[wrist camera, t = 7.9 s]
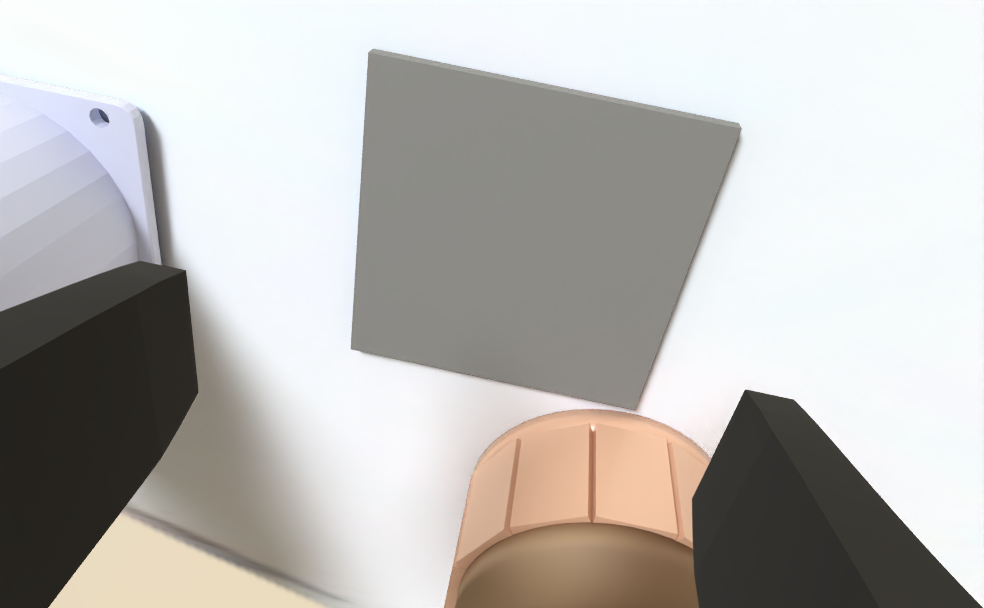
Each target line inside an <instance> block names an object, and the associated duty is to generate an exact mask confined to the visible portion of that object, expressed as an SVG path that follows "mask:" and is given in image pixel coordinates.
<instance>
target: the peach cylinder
mask: <svg viewBox="0 0 984 608" xmlns="http://www.w3.org/2000/svg"><path fill="white" fill-rule="evenodd" d="M710 461H711V458H710V457H709V456H708V455H707V454H706V452H705V451H703V450H702V449H701V448H700V447H699V446H698V445H697V444H696V443H695V442H693V441H692V440H690V439H689V438H687V437H686V436H685V435H683V434H682V433H680V432H678V431H676V430H674V429H672V428H671V427H669V426H667V425H665V424H662V423H660V422H657V421H654V420H652V419H649V418H646V417H642V416H638V415H635V414H631V413H625V412H619V411H613V410H600V409H581V410H569V411H562V412H555V413H551V414H547V415H543V416H539V417H537V418H534V419H531V420H529V421H526V422H524V423H522V424H520V425H518V426H516V427H514V428H512V429H510V430H509V431H507V432H506V433H504V434H503V435H501V436H500V437H499V438H497V439H496V440H495V441H494V442H493V443H492V444H491V445H490V446H489V447H488V448H487V449H486V450H485V452H484V453H483V454H482V456H481V457H480V459H479V461H478V462H477V464H476V466H475V468H474V471H473V474H472V477H471V481H470V486H469V491H468V496H467V500H466V505H465V510H464V514H463V519H462V524H461V529H460V533H459V538H458V543H457V548H456V553H455V557H454V562H453V567H452V572H451V576H450V581H449V586H448V591H447V595H446V600H445V605H444V608H455V605H456V599H457V594H458V589H459V586H460V583H461V579H462V577H463V575H464V574H465V572H466V570H467V568H468V567H469V566H470V565H471V563H472V562H473V561H474V560H475V559H476V558H477V557H478V556H479V555H480V554H481V553H483V552H484V551H485V550H486V549H488V548H489V547H491V546H492V545H494V544H496V543H497V542H499V541H501V540H503V539H505V538H507V537H510V536H512V535H514V534H517V533H520V532H523V531H526V530H529V529H533V528H538V527H543V526H547V525H554V524H563V523H583V522H592V523H608V524H616V525H623V526H629V527H634V528H638V529H642V530H646V531H650V532H654V533H657V534H660V535H662V536H665V537H668V538H671V539H673V540H675V541H678V542H680V543H682V544H684V545H686V546H689V547H690V548H692V549H693V536H692V497H693V495H694V493H695V491H696V489H697V487H698V485H699V483H700V481H701V479H702V477H703V475H704V473H705V471H706V469H707V467H708V465H709V463H710Z"/></svg>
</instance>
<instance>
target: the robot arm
mask: <svg viewBox="0 0 984 608" xmlns="http://www.w3.org/2000/svg"><path fill="white" fill-rule="evenodd" d="M99 109H100V110H102V111H104V112H105V114H106V115H107V116H108V119H109V123H107V122H105V121H104V120H103V119H102V118H101V116H100V114H99ZM197 394H198V383H197V374H196V364H195V354H194V344H193V335H192V325H191V315H190V306H189V296H188V286H187V276H186V270H181V269H177V268H172V267H167V266H163V265H162V264H161V256H160V248H159V241H158V233H157V225H156V217H155V209H154V201H153V193H152V185H151V177H150V169H149V161H148V153H147V145H146V137H145V129H144V122H143V118H142V115H141V113H140V112H139V111H138V109H137V108H136V107H135V106H134V105H133V104H131V103H130V102H128V101H125V100H122V99H117V98H113V97H108V96H103V95H98V94H93V93H88V92H84V91H79V90H74V89H69V88H64V87H59V86H55V85H50V84H45V83H40V82H35V81H31V80H26V79H21V78H16V77H11V76H6V75H2V74H0V608H48V607H49V606H50V604H51V603H52V602H53V601H54V599H55V598H56V597H57V595H58V594H59V592H60V591H61V590H62V589H63V587H64V586H65V585H66V584H67V582H68V581H69V580H70V578H71V577H72V575H73V574H74V573H75V572H76V570H77V569H78V567H79V566H80V565H81V564H82V562H83V561H84V560H85V559H86V557H87V556H88V555H89V553H90V552H91V551H92V549H93V548H94V547H95V545H96V544H97V543H98V541H99V540H100V539H101V538H102V536H103V535H104V534H105V532H106V531H107V530H108V528H109V527H110V526H111V524H112V523H113V522H114V521H115V519H116V518H117V517H118V515H119V514H120V513H121V511H122V510H123V509H124V507H125V506H126V505H127V503H128V502H129V501H130V499H131V498H132V497H133V495H134V494H135V493H136V491H137V490H138V489H139V487H140V486H141V485H142V483H143V482H144V481H145V479H146V478H147V477H148V475H149V474H150V473H151V471H152V470H153V468H154V467H155V466H156V464H157V463H158V462H159V460H160V459H161V457H162V456H163V454H164V452H165V451H166V449H167V447H168V446H169V444H170V442H171V440H172V439H173V437H174V435H175V434H176V432H177V430H178V429H179V427H180V425H181V423H182V421H183V419H184V418H185V416H186V414H187V412H188V410H189V408H190V407H191V405H192V403H193V401H194V399H195V397H196V395H197ZM692 536H693V560H694V576H695V583H696V590H697V597H698V603H699V608H983V607H982V606H981V605H980V604H979V603H978V602H977V601H976V600H975V599H974V598H973V597H972V596H971V595H970V594H969V593H968V592H967V591H966V590H965V589H964V588H963V587H962V586H961V585H960V584H959V583H958V582H957V580H956V579H955V578H954V577H953V576H952V575H951V574H950V573H949V572H948V571H947V570H946V569H945V568H944V567H943V565H942V564H941V563H940V562H939V561H938V560H937V559H936V558H935V557H934V556H933V555H932V554H931V553H930V551H929V550H928V549H927V548H926V547H925V546H924V545H923V544H922V543H921V542H920V540H919V539H918V538H917V537H916V536H915V535H914V534H913V533H912V532H911V530H910V529H909V528H908V527H907V526H906V525H905V524H904V523H903V522H902V520H901V519H900V518H899V517H898V516H897V515H896V514H895V513H894V511H893V510H892V509H891V508H890V507H889V506H888V505H887V503H886V502H885V501H884V500H883V499H882V498H881V497H880V496H879V494H878V493H877V492H876V491H875V490H874V489H873V488H872V486H871V485H870V484H869V483H868V482H867V481H866V480H865V478H864V477H863V476H862V475H861V474H860V473H859V471H858V470H857V469H856V468H855V467H854V466H853V465H852V463H851V462H850V461H849V460H848V459H847V458H846V457H845V455H844V454H843V453H842V452H841V451H840V450H839V448H838V447H837V446H836V445H835V444H834V443H833V442H832V440H831V439H830V438H829V437H828V436H827V435H826V434H825V433H824V431H823V430H822V429H821V428H820V427H819V426H818V425H817V424H816V422H815V421H814V420H813V419H812V418H811V417H810V416H809V415H808V414H807V413H806V412H805V411H804V410H803V409H802V408H801V407H800V405H799V404H798V403H797V402H796V401H795V400H793V399H788V398H783V397H778V396H774V395H769V394H764V393H760V392H755V391H750V390H745V391H744V393H743V395H742V397H741V399H740V401H739V403H738V406H737V408H736V410H735V412H734V414H733V416H732V418H731V420H730V422H729V424H728V426H727V428H726V430H725V432H724V434H723V436H722V438H721V440H720V442H719V444H718V446H717V448H716V450H715V453H714V455H713V457H712V459H711V461H710V463H709V465H708V467H707V469H706V471H705V473H704V475H703V477H702V479H701V481H700V483H699V485H698V487H697V489H696V491H695V493H694V495H693V497H692Z"/></svg>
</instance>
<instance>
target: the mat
mask: <svg viewBox="0 0 984 608" xmlns="http://www.w3.org/2000/svg"><path fill="white" fill-rule="evenodd" d="M740 131H741V127H740V125H739V123H734V122H729V121H725V120H720V119H715V118H710V117H705V116H700V115H695V114H690V113H685V112H680V111H676V110H671V109H666V108H661V107H656V106H651V105H646V104H641V103H636V102H631V101H627V100H622V99H617V98H612V97H607V96H602V95H597V94H592V93H587V92H582V91H578V90H573V89H568V88H563V87H558V86H553V85H548V84H543V83H538V82H533V81H529V80H524V79H519V78H514V77H509V76H504V75H499V74H494V73H489V72H484V71H480V70H475V69H470V68H465V67H460V66H455V65H450V64H445V63H440V62H435V61H431V60H426V59H421V58H416V57H411V56H406V55H401V54H396V53H391V52H386V51H382V50H377V49H372V50H371V51H370V52H369V53H368V70H367V86H366V103H365V120H364V136H363V153H362V170H361V187H360V203H359V220H358V237H357V254H356V270H355V287H354V304H353V321H352V337H351V349H352V350H357V351H362V352H366V353H371V354H376V355H380V356H385V357H390V358H394V359H399V360H404V361H408V362H413V363H418V364H422V365H427V366H432V367H436V368H441V369H446V370H450V371H455V372H460V373H464V374H469V375H474V376H478V377H483V378H488V379H492V380H497V381H502V382H507V383H511V384H516V385H521V386H525V387H530V388H535V389H539V390H544V391H549V392H553V393H558V394H563V395H567V396H572V397H577V398H581V399H586V400H591V401H595V402H600V403H605V404H609V405H614V406H619V407H623V408H628V409H633V410H635V409H636V406H637V403H638V401H639V398H640V396H641V393H642V390H643V388H644V385H645V382H646V380H647V377H648V374H649V372H650V369H651V366H652V364H653V361H654V359H655V356H656V353H657V351H658V348H659V345H660V343H661V340H662V337H663V335H664V332H665V329H666V327H667V324H668V321H669V319H670V316H671V314H672V311H673V308H674V306H675V303H676V300H677V298H678V295H679V292H680V290H681V287H682V284H683V282H684V279H685V277H686V274H687V271H688V269H689V266H690V263H691V261H692V258H693V255H694V253H695V250H696V247H697V245H698V242H699V240H700V237H701V234H702V232H703V229H704V226H705V224H706V221H707V218H708V216H709V213H710V210H711V208H712V205H713V203H714V200H715V197H716V195H717V192H718V189H719V187H720V184H721V181H722V179H723V176H724V173H725V171H726V168H727V166H728V163H729V160H730V158H731V155H732V152H733V150H734V147H735V144H736V142H737V139H738V136H739V134H740Z"/></svg>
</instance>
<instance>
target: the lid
mask: <svg viewBox="0 0 984 608" xmlns="http://www.w3.org/2000/svg"><path fill="white" fill-rule="evenodd" d="M455 608H699V603H698V597H697V590H696V583H695V576H694V560H693V549H692V548H690V547H689V546H686V545H684V544H682V543H680V542H678V541H675V540H673V539H671V538H668V537H665V536H662V535H660V534H657V533H654V532H650V531H646V530H642V529H638V528H634V527H629V526H623V525H616V524H608V523H592V522H583V523H563V524H554V525H547V526H543V527H538V528H533V529H529V530H526V531H523V532H520V533H517V534H514V535H512V536H510V537H507V538H505V539H503V540H501V541H499V542H497V543H496V544H494V545H492V546H491V547H489V548H488V549H486V550H485V551H484V552H483V553H481V554H480V555H479V556H478V557H477V558H476V559H475V560H474V561H473V562H472V563H471V565H470V566H469V567H468V568H467V570H466V572H465V574H464V575H463V577H462V579H461V583H460V586H459V589H458V594H457V599H456V605H455Z"/></svg>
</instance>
